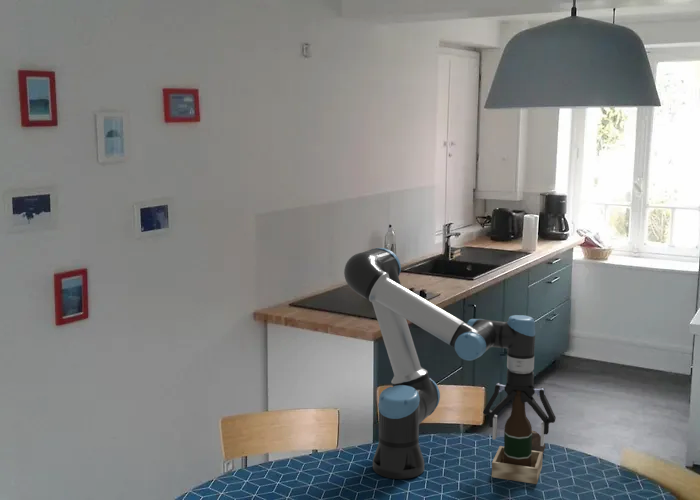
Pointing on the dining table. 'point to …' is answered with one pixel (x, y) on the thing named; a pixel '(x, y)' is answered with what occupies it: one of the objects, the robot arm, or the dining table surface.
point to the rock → (537, 442)
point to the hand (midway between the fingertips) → (518, 441)
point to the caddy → (517, 468)
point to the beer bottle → (518, 435)
